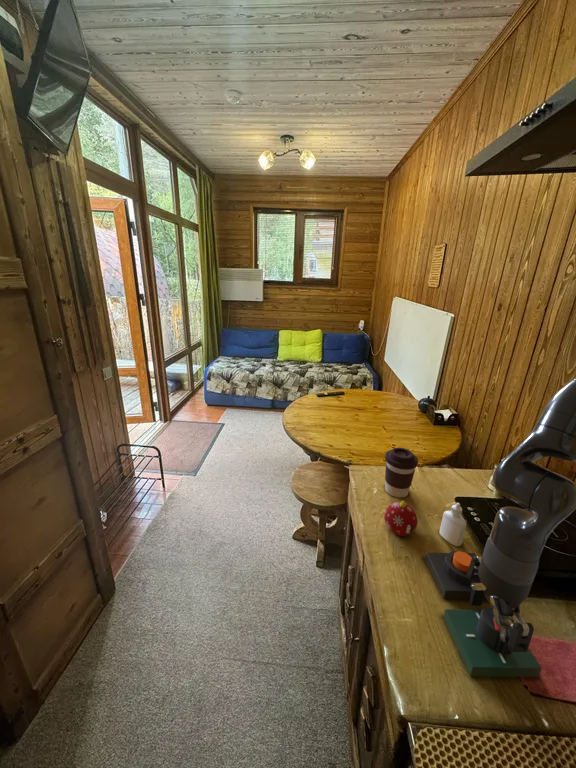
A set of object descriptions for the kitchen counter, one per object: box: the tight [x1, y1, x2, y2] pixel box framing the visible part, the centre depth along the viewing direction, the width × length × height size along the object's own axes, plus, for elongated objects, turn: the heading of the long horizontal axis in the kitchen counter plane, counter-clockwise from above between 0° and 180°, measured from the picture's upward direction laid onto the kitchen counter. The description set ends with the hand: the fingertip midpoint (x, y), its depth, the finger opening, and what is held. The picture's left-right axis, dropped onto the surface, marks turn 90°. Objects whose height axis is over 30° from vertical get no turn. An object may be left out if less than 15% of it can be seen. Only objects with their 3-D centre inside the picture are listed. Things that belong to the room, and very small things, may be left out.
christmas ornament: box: [384, 500, 418, 537], centre depth 85 cm, size 9×9×10 cm
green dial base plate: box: [443, 608, 542, 678], centre depth 58 cm, size 12×10×3 cm
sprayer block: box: [424, 551, 487, 600], centre depth 71 cm, size 12×10×5 cm
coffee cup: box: [384, 447, 419, 499], centre depth 100 cm, size 10×10×15 cm
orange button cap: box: [453, 551, 472, 573], centre depth 70 cm, size 4×4×2 cm
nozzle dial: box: [476, 607, 509, 649], centre depth 57 cm, size 4×4×5 cm
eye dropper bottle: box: [438, 502, 467, 547], centre depth 82 cm, size 4×6×12 cm
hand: (487, 626), depth 60 cm, fingers open, 8 cm apart
